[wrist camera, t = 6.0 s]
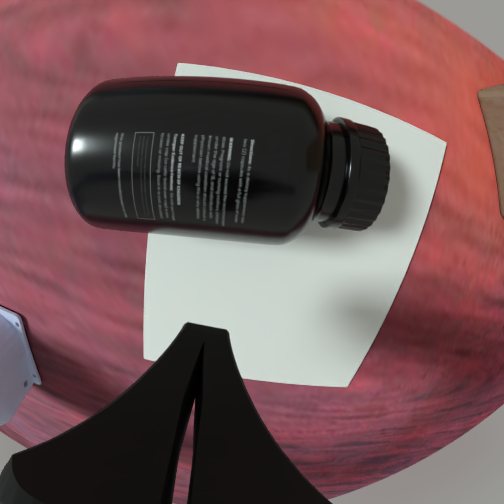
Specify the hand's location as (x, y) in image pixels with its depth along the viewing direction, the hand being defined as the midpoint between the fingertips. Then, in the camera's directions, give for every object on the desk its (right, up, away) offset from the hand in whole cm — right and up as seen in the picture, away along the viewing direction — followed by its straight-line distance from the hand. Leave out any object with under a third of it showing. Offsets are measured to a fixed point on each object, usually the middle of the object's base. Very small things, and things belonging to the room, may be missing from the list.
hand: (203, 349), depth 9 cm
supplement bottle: (-5, +8, +2) cm, 10 cm away
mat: (+4, +3, +9) cm, 10 cm away
